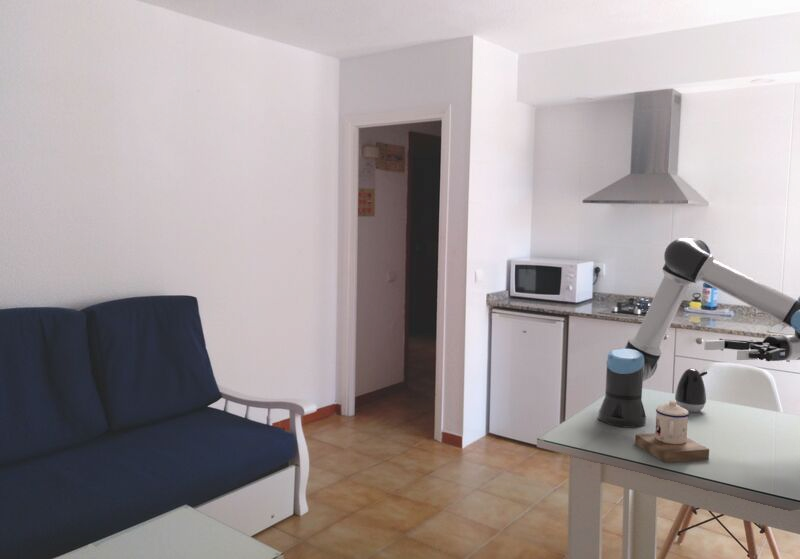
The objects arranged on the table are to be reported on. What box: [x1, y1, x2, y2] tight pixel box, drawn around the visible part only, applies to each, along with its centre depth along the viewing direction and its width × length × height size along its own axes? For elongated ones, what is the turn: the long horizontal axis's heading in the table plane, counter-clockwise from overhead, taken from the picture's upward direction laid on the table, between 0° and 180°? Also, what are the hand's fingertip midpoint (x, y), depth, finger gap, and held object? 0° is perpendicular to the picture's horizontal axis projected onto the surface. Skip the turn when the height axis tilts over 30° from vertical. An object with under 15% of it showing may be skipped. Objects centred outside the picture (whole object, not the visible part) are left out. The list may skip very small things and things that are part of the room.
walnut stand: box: [634, 432, 710, 464], centre depth 194 cm, size 15×14×3 cm
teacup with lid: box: [654, 400, 690, 444], centre depth 194 cm, size 12×9×12 cm
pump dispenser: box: [674, 368, 708, 413], centre depth 235 cm, size 10×10×15 cm
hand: (720, 350), depth 195 cm, fingers open, 13 cm apart
